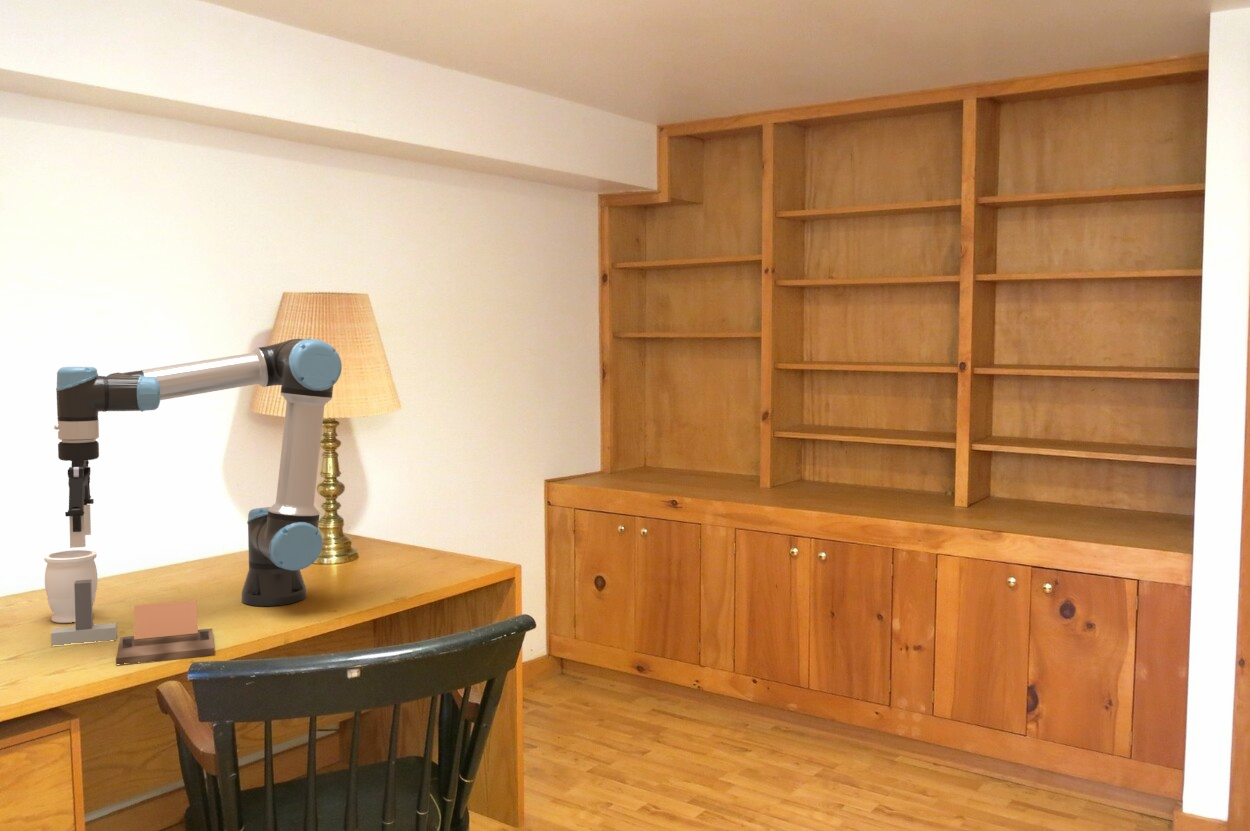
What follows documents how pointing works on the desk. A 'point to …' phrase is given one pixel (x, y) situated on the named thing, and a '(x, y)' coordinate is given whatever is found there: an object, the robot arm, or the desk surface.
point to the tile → (165, 620)
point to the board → (165, 648)
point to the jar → (68, 581)
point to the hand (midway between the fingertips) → (80, 540)
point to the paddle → (83, 621)
